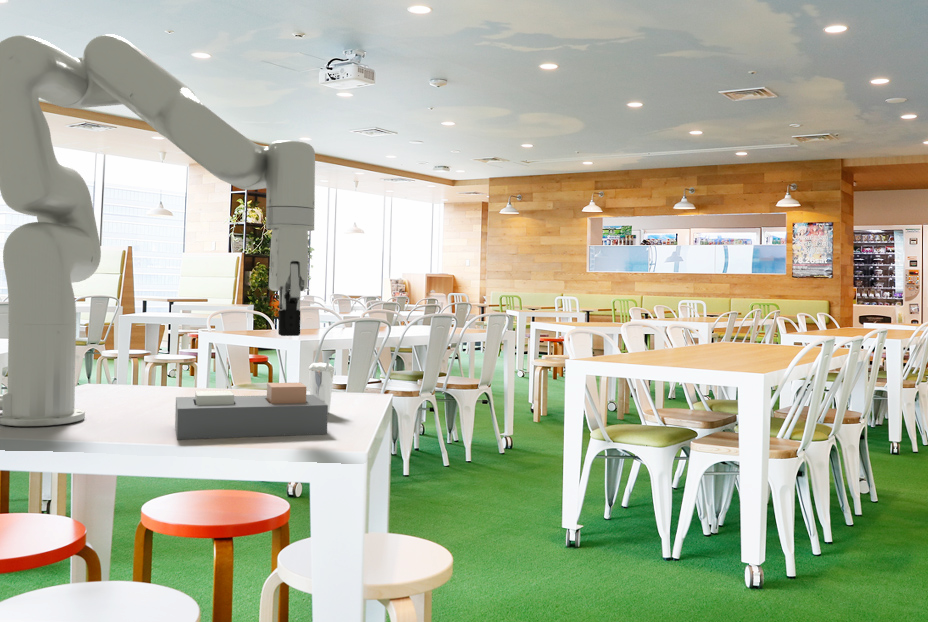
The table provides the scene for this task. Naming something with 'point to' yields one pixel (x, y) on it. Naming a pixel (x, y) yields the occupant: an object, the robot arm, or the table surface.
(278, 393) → the clay key
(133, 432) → the table surface
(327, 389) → the milkshake
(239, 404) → the key panel
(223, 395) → the white square block
